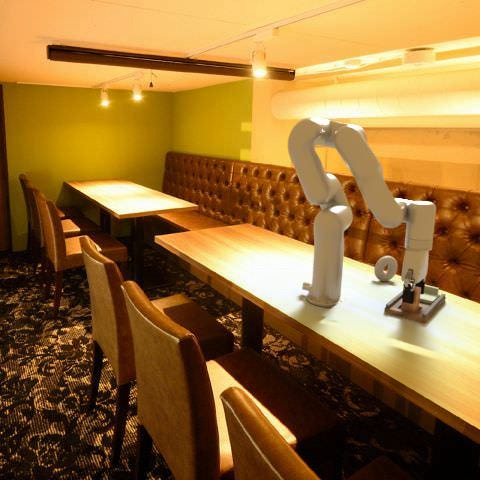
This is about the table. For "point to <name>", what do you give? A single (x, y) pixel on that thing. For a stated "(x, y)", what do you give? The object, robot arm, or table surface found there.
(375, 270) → the donut
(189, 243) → the table surface
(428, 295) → the lid
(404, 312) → the puzzle board
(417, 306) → the block
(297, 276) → the table surface
